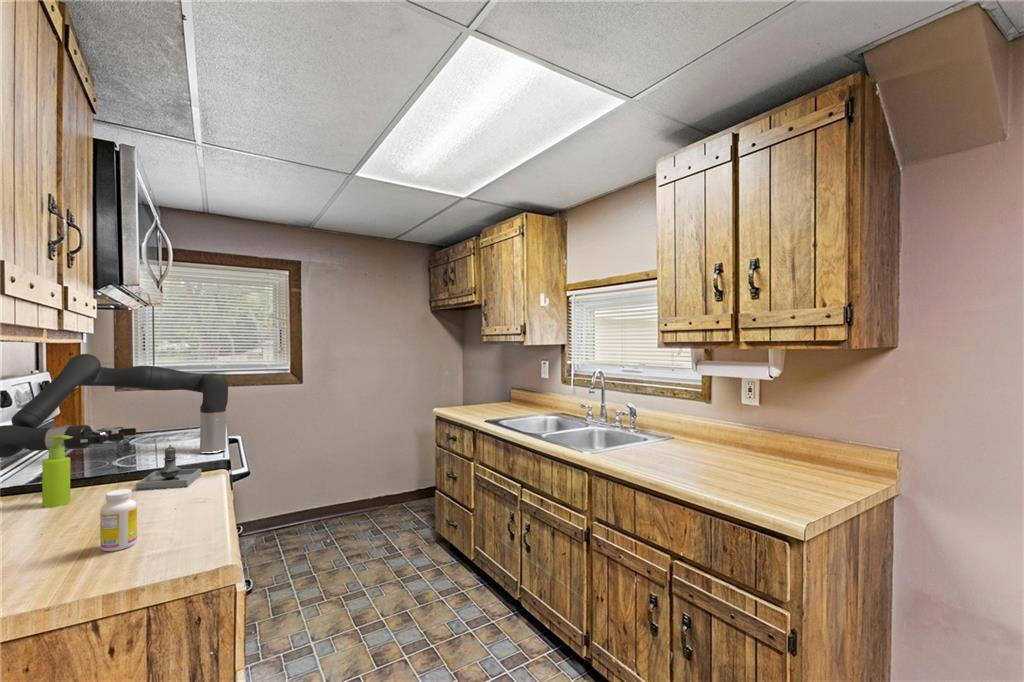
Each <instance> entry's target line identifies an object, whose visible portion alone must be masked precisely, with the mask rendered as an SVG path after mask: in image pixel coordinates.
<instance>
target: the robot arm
mask: <svg viewBox="0 0 1024 682" xmlns="http://www.w3.org/2000/svg"><path fill="white" fill-rule="evenodd" d="M101 365H102V364H101V361H100V359H98V357H96V356H95V355H93V354H90V353H80V354H77V355H74V356H73V357H71V358H70V359H69V360H68V361H67V362H66V365H65V366H64V367H63V369H62V370H61V371H60V372H59V373H58V375H57V376H56V377H55V378H54V379H53V380H52V381H51V382H49V384H48V385H47V386H45V388H43V389H42V390H41V391H40V392H39V393H37V394H36V395H35V396H34V397H33V398H32V399H31V400H30V401H28V402H26V404H24V406H22V407H21V408H20V409H19V410H18V411H17V412H16V413H15V414H13V416H12V417H11V420H10V421H11V424H12V425H11V424H10V425H0V458H10V457H13V456H15V455H17V454H18V453H20V452H21V451H22V450H23V449H26V450H28V451H32V452H38V451H39V452H40V451H49V448H50V447H52V446H53V439H49V437H51V436H57V435H67V436H72V437H73V438H71V439H66V440H65V439H61V445H62V446H64V447H65V451H66V450H67V451H68V450H81V449H87V448H89V447H90V445H103V444H104V443H105V444H106V443H109V442H117V441H118V442H121V441H124V440H125V436H135V435H136V434H137V428H136V427H130V428H129V427H128V428H124V426H119V427H118V426H117V427H103V428H98V429H95V430H93V428H92V427H91V426H90V425H88V424H84V425H83V424H81V425H77V424H76V425H62V426H53V427H40V426H41V425H42V424H43V423H44V422H45V421H46V420H47V419H48V418H49V417H50V416H51V415H52V414H53V413H54V412H55V411H56V410H57V409H58V407H59V406H60V405H61V404H62V403H63V401H65V399H67V397H68V396H69V395H70V394H71V393H72V392H73V391H74V390H75V389H77V387H78V386H83V387H87V386H88V387H92V386H93V387H101V386H102V387H117V388H126V389H127V388H128V389H138V390H139V389H140V390H146V391H147V390H149V391H163V392H164V391H166V392H167V391H180V390H181V391H190V392H196V393H202V402H201V405H200V406H199V407H200V410H199V412H200V413H199V414H200V416H199V417H200V419H199V423H200V424H199V426H200V427H199V431H200V432H199V452H200V451H201V452H213V451H219V450H223V449H225V448H226V449H227V446H226V445H227V442H226V441H227V436H226V435H227V405H228V403H229V402H228V401H229V384H228V383H229V381H228V380H227V378H226V377H225V376H224V375H222V374H219V373H214V372H213V373H212V372H208V373H207V372H206V373H205V372H203V373H202V372H185V371H182V370H179V369H178V370H177V369H173V368H169V367H162V366H155V365H134V366H133V365H132V366H125V367H107V366H106V367H105V366H101ZM38 427H39V428H38ZM116 431H118V432H116Z"/></svg>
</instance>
